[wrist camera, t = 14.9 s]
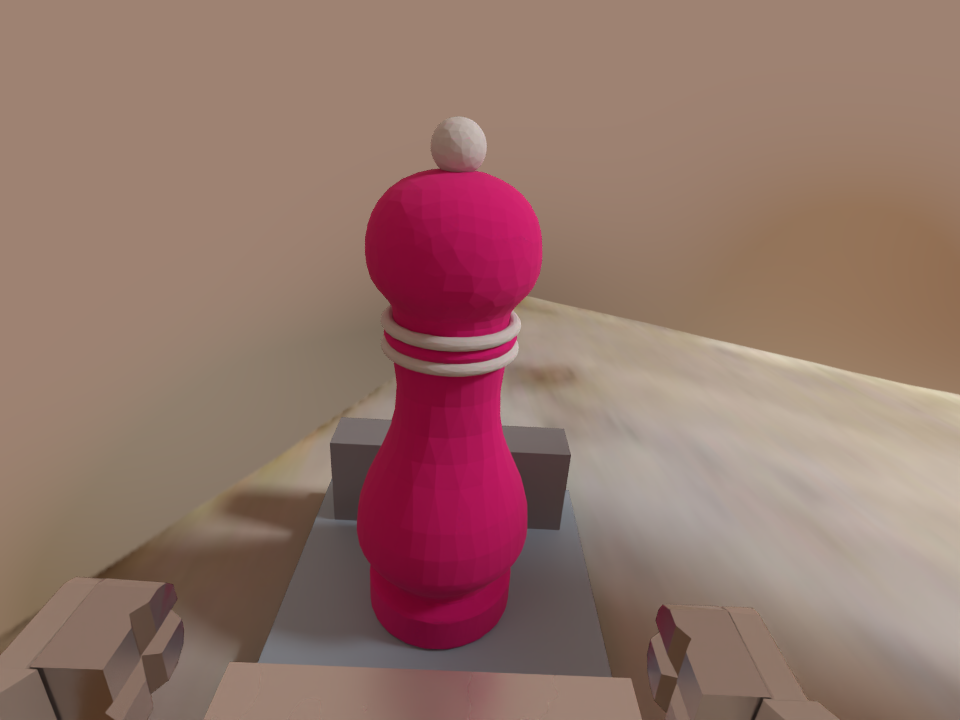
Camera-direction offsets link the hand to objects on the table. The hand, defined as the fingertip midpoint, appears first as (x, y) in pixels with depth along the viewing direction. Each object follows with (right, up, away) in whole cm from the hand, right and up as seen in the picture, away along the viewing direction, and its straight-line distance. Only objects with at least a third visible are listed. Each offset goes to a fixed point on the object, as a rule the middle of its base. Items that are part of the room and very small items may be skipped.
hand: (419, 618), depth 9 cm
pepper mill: (-1, -6, +16) cm, 17 cm away
